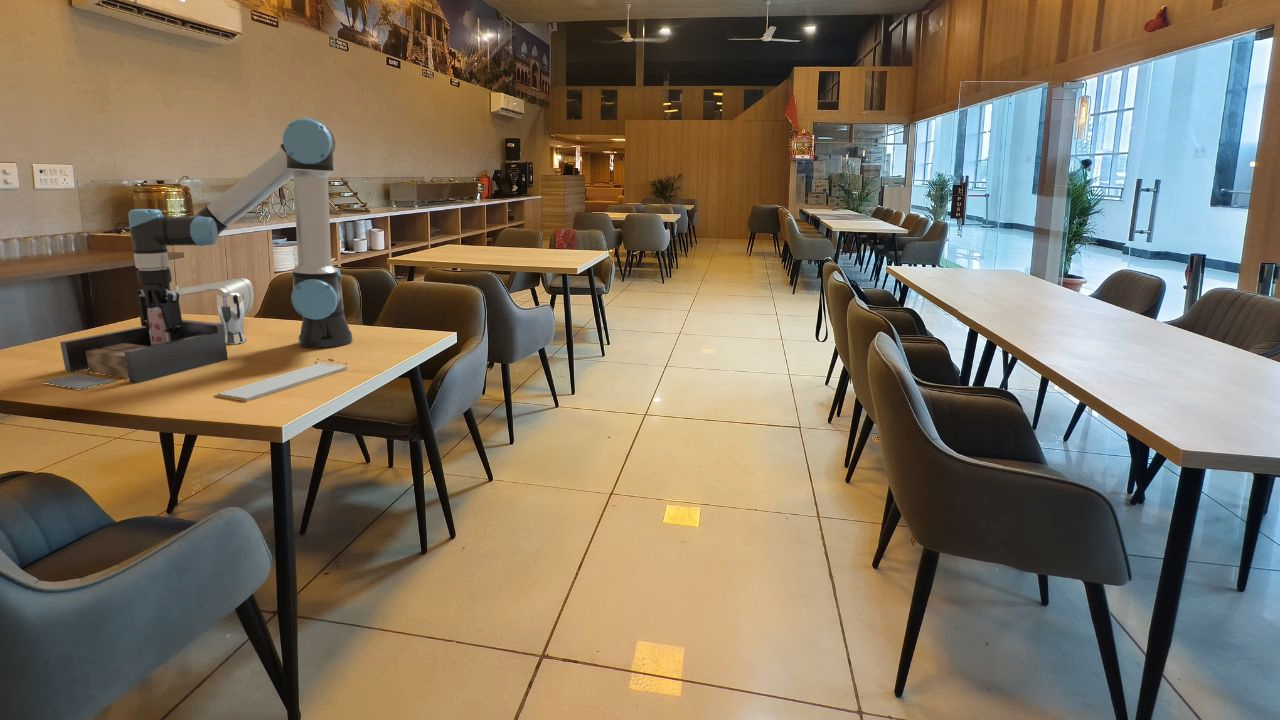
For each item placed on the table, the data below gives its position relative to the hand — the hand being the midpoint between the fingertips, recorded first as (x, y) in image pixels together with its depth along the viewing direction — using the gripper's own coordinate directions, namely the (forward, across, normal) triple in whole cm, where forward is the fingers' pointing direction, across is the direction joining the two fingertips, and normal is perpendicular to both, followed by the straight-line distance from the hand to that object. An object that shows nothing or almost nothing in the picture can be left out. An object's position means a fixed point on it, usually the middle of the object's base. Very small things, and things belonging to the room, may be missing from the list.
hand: (166, 353), depth 199 cm
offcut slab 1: (+3, 0, +11) cm, 11 cm away
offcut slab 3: (+3, 0, +8) cm, 8 cm away
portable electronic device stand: (+3, +26, -33) cm, 42 cm away
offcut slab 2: (+3, 0, +14) cm, 15 cm away
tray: (+2, 0, +4) cm, 5 cm away
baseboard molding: (+3, -44, +2) cm, 44 cm away
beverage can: (+3, 0, 0) cm, 3 cm away
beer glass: (+3, +3, -24) cm, 24 cm away
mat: (+2, 0, +23) cm, 23 cm away
